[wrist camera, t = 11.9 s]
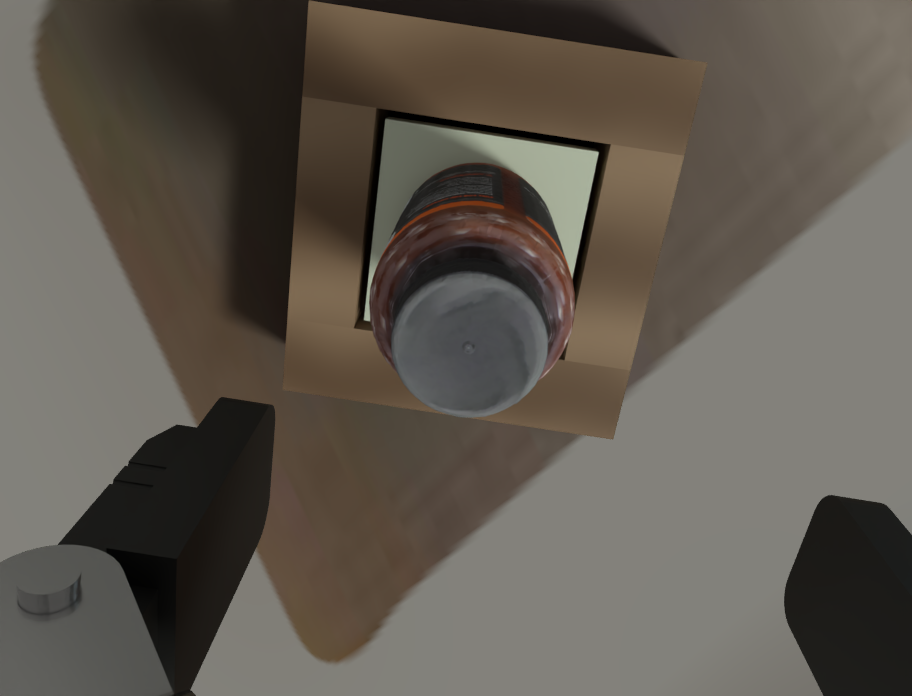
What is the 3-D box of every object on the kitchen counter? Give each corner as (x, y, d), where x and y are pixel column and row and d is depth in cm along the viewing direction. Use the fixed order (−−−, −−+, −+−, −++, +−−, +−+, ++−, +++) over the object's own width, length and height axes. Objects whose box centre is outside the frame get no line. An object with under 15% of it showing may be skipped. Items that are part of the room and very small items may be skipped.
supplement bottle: (367, 229, 30) (298, 331, 19) (486, 125, 28) (481, 174, 18) (467, 340, 31) (454, 492, 21) (586, 247, 30) (636, 361, 19)
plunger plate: (388, 116, 29) (385, 119, 28) (595, 148, 29) (598, 152, 28) (367, 312, 32) (363, 320, 31) (555, 340, 32) (557, 349, 31)
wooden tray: (331, 5, 30) (308, 0, 27) (681, 60, 31) (707, 62, 27) (304, 353, 36) (282, 389, 32) (600, 398, 36) (612, 439, 32)
